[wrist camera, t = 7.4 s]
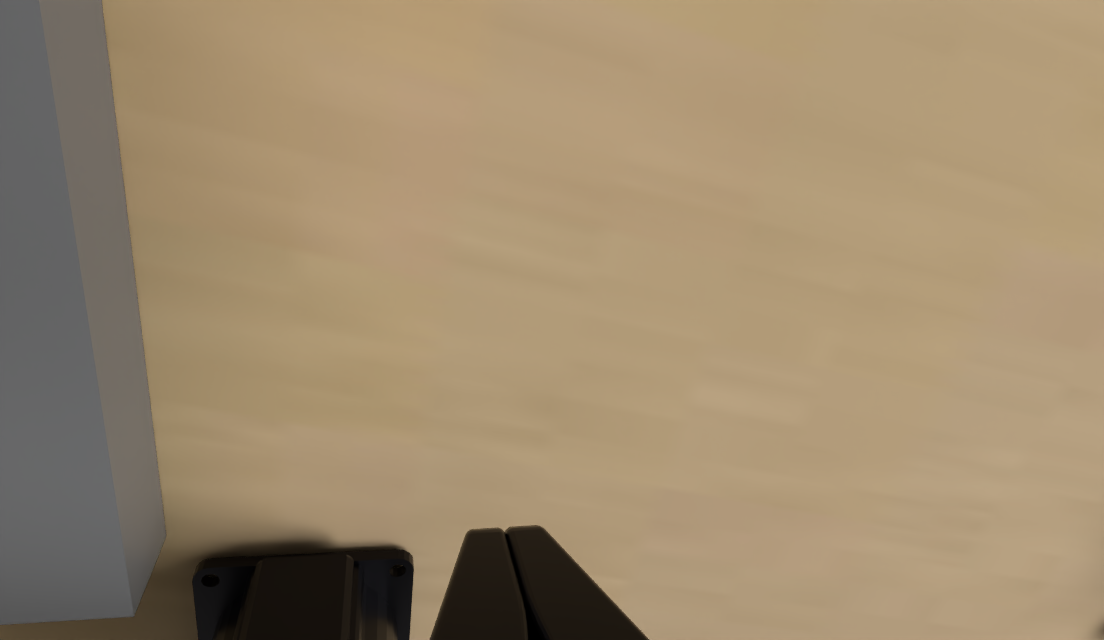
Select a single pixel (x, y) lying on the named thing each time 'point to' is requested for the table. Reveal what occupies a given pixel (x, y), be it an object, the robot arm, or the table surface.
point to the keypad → (69, 332)
